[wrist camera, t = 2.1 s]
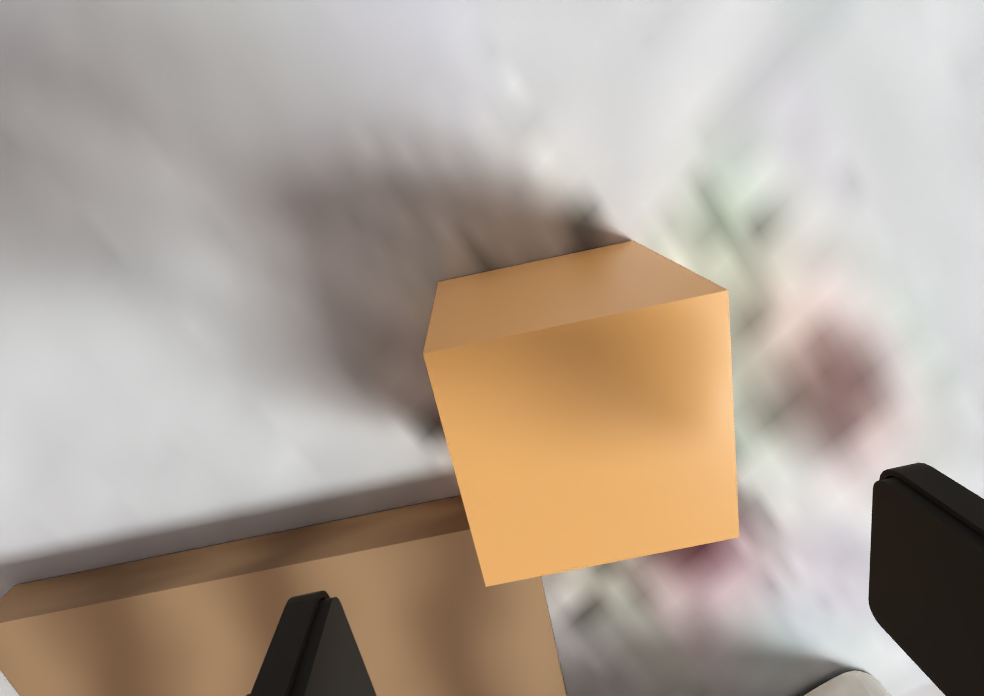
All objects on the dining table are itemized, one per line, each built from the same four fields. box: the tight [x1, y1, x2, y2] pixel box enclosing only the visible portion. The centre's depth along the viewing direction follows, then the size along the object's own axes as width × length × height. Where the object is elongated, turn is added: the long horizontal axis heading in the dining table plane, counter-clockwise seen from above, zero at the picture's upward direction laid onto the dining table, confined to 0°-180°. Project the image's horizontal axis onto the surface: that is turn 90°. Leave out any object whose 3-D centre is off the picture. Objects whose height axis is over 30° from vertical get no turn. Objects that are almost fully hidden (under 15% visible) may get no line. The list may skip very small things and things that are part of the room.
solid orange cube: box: [423, 241, 739, 587], centre depth 15 cm, size 6×6×6 cm
